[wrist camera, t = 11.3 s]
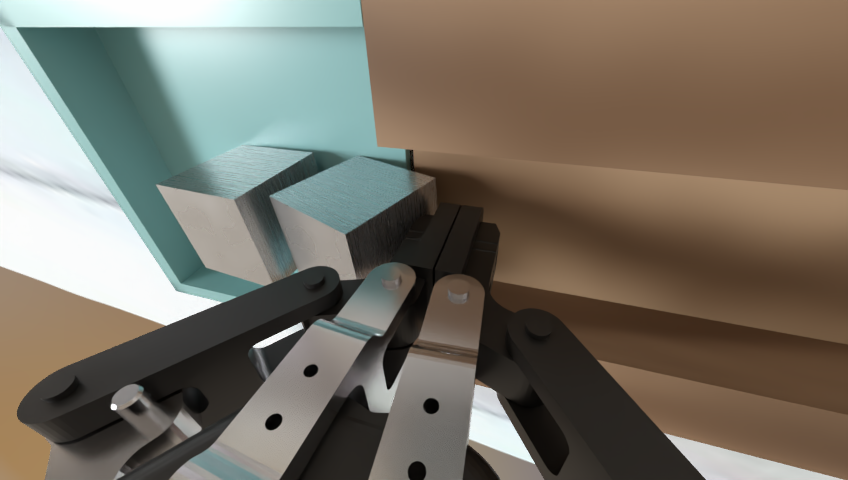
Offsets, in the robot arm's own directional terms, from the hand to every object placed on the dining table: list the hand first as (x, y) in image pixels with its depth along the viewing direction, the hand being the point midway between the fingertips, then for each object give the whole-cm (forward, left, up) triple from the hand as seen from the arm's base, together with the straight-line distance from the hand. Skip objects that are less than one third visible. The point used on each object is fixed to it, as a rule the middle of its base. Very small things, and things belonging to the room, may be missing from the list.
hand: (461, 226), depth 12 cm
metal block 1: (0, -8, -2) cm, 9 cm away
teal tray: (0, -10, -2) cm, 10 cm away
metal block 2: (0, -3, -1) cm, 3 cm away
